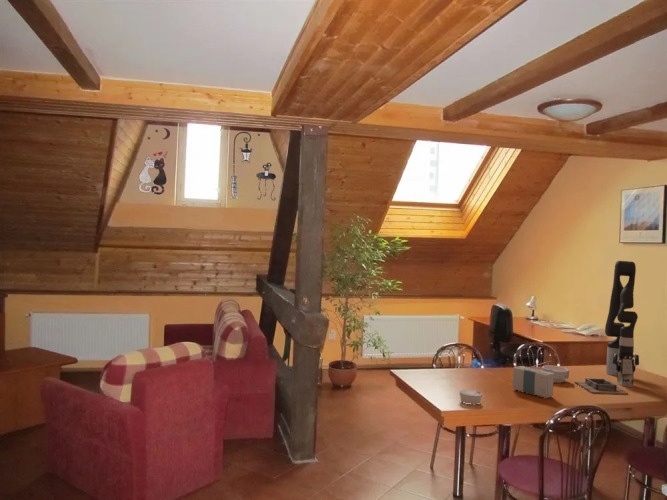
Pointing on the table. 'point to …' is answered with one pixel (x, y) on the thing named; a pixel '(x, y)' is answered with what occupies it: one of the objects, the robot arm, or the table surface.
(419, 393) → the table surface
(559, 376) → the paper bowls
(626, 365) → the coffee box
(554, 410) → the table surface
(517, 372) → the stereo radio cassette player
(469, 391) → the ramekin
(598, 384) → the collar board
